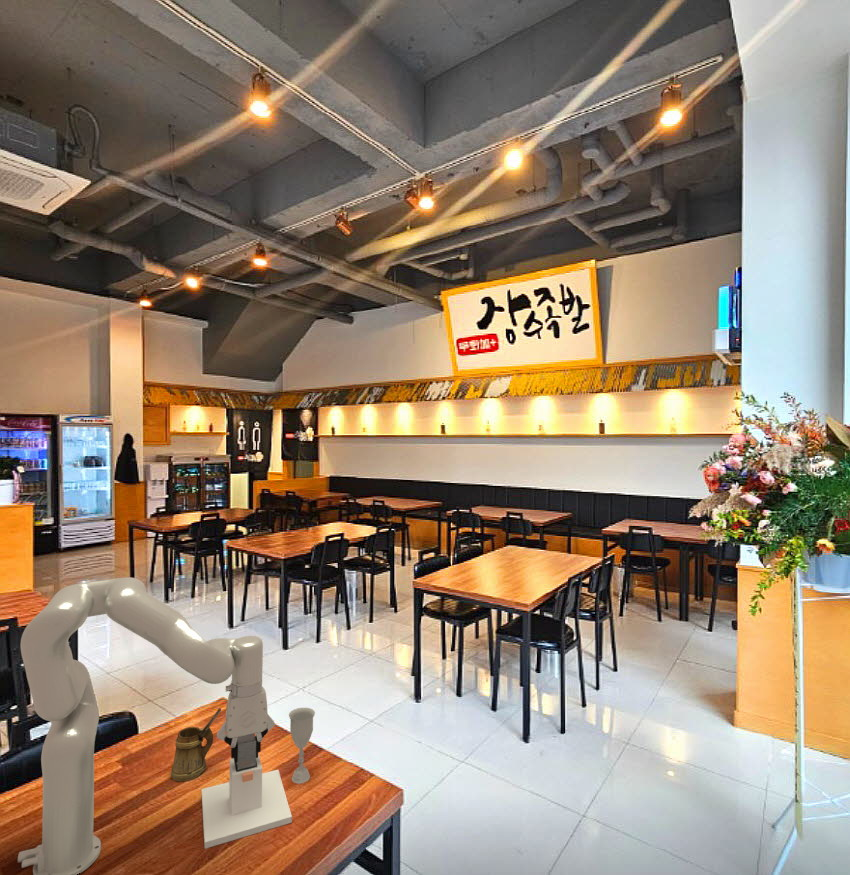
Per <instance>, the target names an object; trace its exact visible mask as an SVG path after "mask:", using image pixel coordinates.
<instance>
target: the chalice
mask: <svg viewBox="0 0 850 875" xmlns="http://www.w3.org/2000/svg"><path fill="white" fill-rule="evenodd" d="M315 714H316V711H315V710H314V709H312V708H310V707H298V708H293V710H291V711H290V712H289V713H288V717H289V719H290V723H289V724H290V727H289V728H290V736H291V739H292V741H293V743H294V745H295V747H296V748H298V749H299V751H298V756H299V759H298V760H297V762H298V764H299V765H298V767H297V768H295V769H294V772H293V774H292V777H291V781H292V782H293V783H294V784H297V785H298V784H299V785H300V784H305V783H306V782H308V781H309V780H310V779H311V775H310V772H309V770H308V768H307V766H304V762H305V758H304V755H305V752H304V748H306V747H307V745H308V743H309V741H310V739H311V737H312V734H313V731H314V717H315Z"/></svg>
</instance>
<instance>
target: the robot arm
mask: <svg viewBox="0 0 850 875" xmlns="http://www.w3.org/2000/svg"><path fill="white" fill-rule="evenodd" d="M102 615H106V616H108V618H109V619H111V620H112V621H113V622H114V623H116V624H118V625H120V626H122V627H123V628H125V629H126V630H128V631H130V632H132V633H134V634H135V635H137V636H139V637H141V638H142V639H144V640H145V641H147V642H149V643H151V644H152V645H154V646H156V647H157V648H158V650H159V651H160V652H162V653H163V654H164V655H165V656H167V657H168V658H169V659H170V660H172V662H174V663H175V665H177V666H178V667H179V668H180V669H183V670H184V671H185V672H187V673H189V674H190V675H192V676H194V677H196V678H198V679H199V680H201V681H203V682H205V683H207V684H210V685H211V684H212V685H217V684H218V685H219V684H222V683H224V682H226V681H228V680H229V678H230V677H231V682H230V684H228V685H225V692H229V693H228V696H227V702H226V708H225V709H226V711H225V721H224V722H223V723H222V724H221V727H220V728H219V729H218V731H217V733H216V738H217V739H219V740H221V741H222V742H224V743H225V744H227V745H228V746H230V759H233V758H234V763H237V758H238V747H237V738H238V737H241V736H246V735H251V734H255V738H256V758H258V753H261V750H262V748H261V746H262V744H261V743H262V741H263V738H264V737H265V736H266V735H267V734H268V733H269V731H271V729H273V727H275V726H276V723H275V721H274V719H273V718H272V717H271V716H270V715H269V714H268V700H267V692H266V690H265V688H264V686H263V665H264V664H263V663H264V662H263V661H264V659H263V658H264V655H263V654H264V652H263V651H264V642H263V640H262V638H260V637H259V636H256V635H246V636H242V637H238V638H225V637H224V638H221V637H220V638H212V639H209V640H207V641H206V640H205V639H203V638H202V637H201V636H200V635H199V634H198V633H197V632H196V631H195V630H194V629H193V628H192V626H191V624H190V622H188V620H187V619H186V617H184V615H183V614H182V613H180V612H179V611H177V610H176V609H174V608H172V606H169V605H168V604H166V603H164V602H163V601H161V600H160V599H158V598H156V597H155V596H153V595H152V594H150V593H148V592H147V587H146V585H145V584H144V582H143V581H141V580H140V579H139V578H137V577H136V578H135V577H129V576H128V577H127V576H126V577H118V578H117V577H116V578H110V579H104V580H96V581H88V582H82V583H75V584H70V585H68V586H65V587H63V588H61V589H60V590H58V591H57V592H56V593H55V594H54V595H53V597H52V598H51V600H50V601H49V602H48V604H47V605H46V606H45V607H44V608H43V609H42V610H41V611H40V612H39V613H38V614H36V616H35V617H33V618H32V620H31V621H29V623H27V625H26V627H25V628H24V630H23V633H22V634H21V638H20V653H21V658H22V662H23V665H24V666H23V667H24V670H25V674H26V679H27V684H28V687H29V690H30V694H31V699H32V704H33V708H34V710H35V712H36V714H37V715H38V716H39V717H40V718H41V719H42V720H45V721H48V722H50V723H51V725H50V727H49V730H48V731H47V734H46V737H45V739H44V742H43V746H42V749H41V757H40V762H41V772H42V825H41V826H42V827H41V828H42V830H41V831H42V834H41V836H42V837H41V839H42V841H41V844H39V845H36V847H35V848H30V849H26V850H23V851H19V852H18V856H17V863H21V868H22V869H24V868H27V867H29V866H33V868H32V875H77V874H78V875H79V873H80V874H82V873H83V872H84V871H85V870H87V869H89V868H90V866H92V865H93V863H94V862H96V860H97V859H98V858H99V856H100V854H101V850H102V842H101V840H100V838H99V837H98V836H97V835H94V816H95V815H94V814H95V813H94V812H95V810H94V809H95V808H94V806H95V801H94V800H95V753H94V752H95V741H96V735H97V731H98V725H99V720H100V712H99V711H100V710H99V707H98V703H97V699H96V694H95V691H94V687H93V683H92V679H91V675H90V673H89V670H88V668H87V667H86V665H85V664H84V663H82V662H81V661H79V660H76V659H74V657H73V653H72V649H71V647H70V645H69V639H70V637H71V636H72V635H73V634H74V633H76V632H77V630H78V629H81V627H82V626H83V625H84V624H85V622H86V621H87V619H88V618H91V617H95V616H102Z"/></svg>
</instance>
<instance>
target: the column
mask: <svg viewBox="0 0 850 875" xmlns="http://www.w3.org/2000/svg"><path fill="white" fill-rule="evenodd" d="M255 736H256V733H255V734H251V735H246V736H241V737H238V738H237V747H238V758H237V763H236V772H239V771H243V770H247V769H251V768H255V767H256V738H255Z"/></svg>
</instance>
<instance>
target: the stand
mask: <svg viewBox="0 0 850 875" xmlns="http://www.w3.org/2000/svg"><path fill="white" fill-rule="evenodd" d="M259 753H260V752H258V758H256V767H255V768H251V769H247V770H243V771H239V772H236V763H234V758H232V759H231V758H229V777H228V778H229V779H228V780H229V781H227V782H224V783H221V784H219V783H218V784H216V785H212V786H208V787H205V788H202V789H201V806H202V808H201V809H202V810H201V811H202V824H203V825H202V826H203V842H204V849H209V848H212V847H216V846H218V845H222V844H226V843H229V842H233V841H235V840H239V839H242V838H245V837H248V836H253V835H256V834H258V833H262V832H265V831H269V830H272V829H275V828H278V827H282V826H285V825H288V824H289V825H290V824H291V823H293V815H292V812H291V809H290V806H289V802H288V799H287V796H286V792H285V788H284V784H283V782H282V777H281V774H280V770H279V769H275V770H271V771H268V772H263V766H262V762H261V758H260V754H259Z"/></svg>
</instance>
